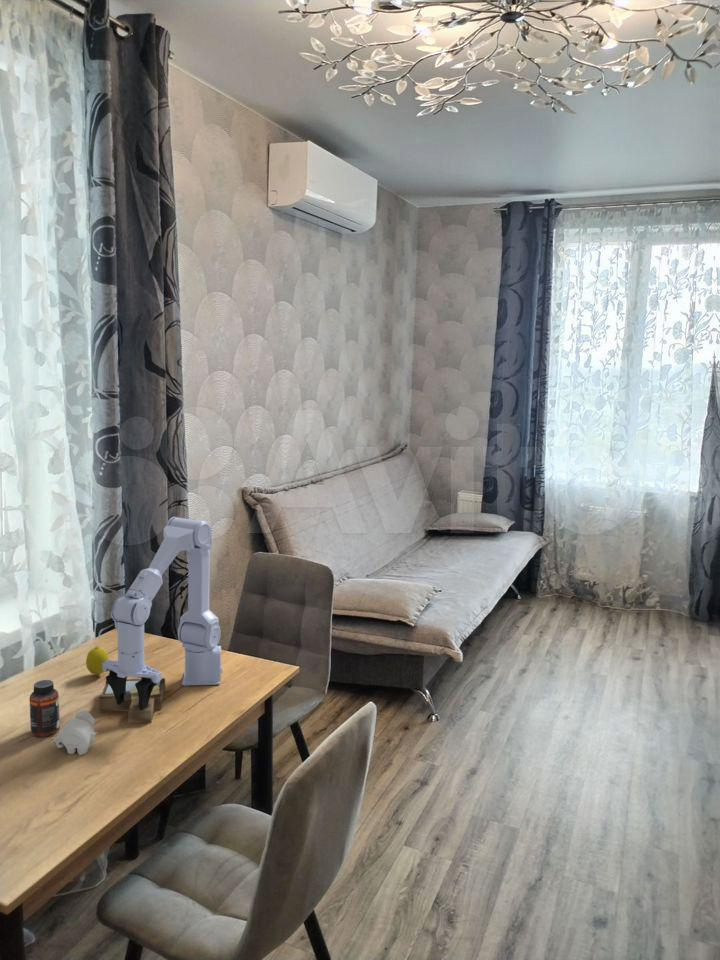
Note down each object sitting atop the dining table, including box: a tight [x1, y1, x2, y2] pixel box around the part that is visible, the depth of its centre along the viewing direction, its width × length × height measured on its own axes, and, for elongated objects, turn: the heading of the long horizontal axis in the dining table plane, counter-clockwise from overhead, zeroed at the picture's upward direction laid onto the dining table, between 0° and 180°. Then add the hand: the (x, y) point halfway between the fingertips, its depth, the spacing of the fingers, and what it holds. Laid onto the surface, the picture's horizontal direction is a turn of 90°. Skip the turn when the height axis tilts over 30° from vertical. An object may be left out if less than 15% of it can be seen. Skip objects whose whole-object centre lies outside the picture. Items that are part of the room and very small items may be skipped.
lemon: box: [85, 646, 110, 677], centre depth 190 cm, size 6×6×8 cm
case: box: [98, 677, 166, 724], centre depth 175 cm, size 14×16×4 cm
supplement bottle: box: [29, 679, 61, 738], centre depth 162 cm, size 6×6×11 cm
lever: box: [122, 685, 159, 706], centre depth 169 cm, size 8×2×4 cm, turn 122°
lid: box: [105, 681, 160, 695], centre depth 177 cm, size 12×6×4 cm, turn 99°
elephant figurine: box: [49, 710, 98, 756], centre depth 155 cm, size 8×10×7 cm
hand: (132, 705), depth 167 cm, fingers open, 6 cm apart
